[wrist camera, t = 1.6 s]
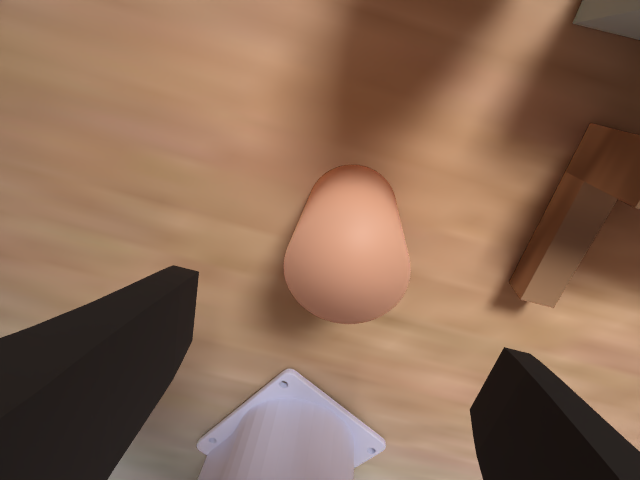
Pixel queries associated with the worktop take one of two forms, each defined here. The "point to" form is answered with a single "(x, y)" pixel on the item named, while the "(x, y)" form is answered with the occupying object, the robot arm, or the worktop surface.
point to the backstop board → (611, 16)
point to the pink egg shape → (348, 248)
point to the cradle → (578, 212)
